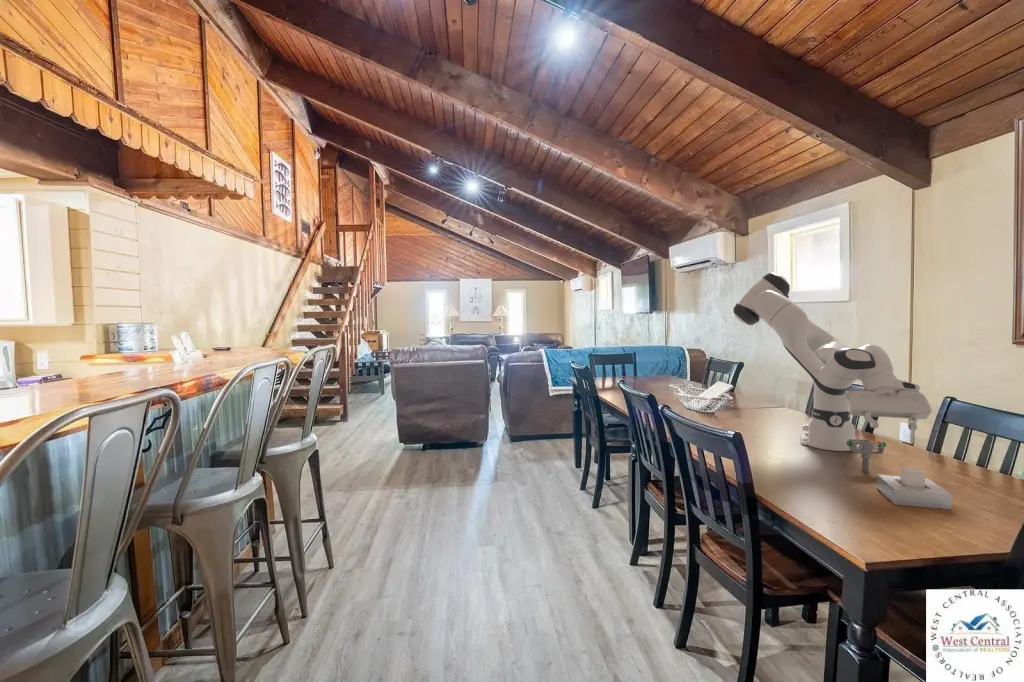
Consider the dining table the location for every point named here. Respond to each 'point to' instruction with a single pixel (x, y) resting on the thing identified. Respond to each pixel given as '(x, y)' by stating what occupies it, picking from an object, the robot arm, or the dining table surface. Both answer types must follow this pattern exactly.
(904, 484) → the plug
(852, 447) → the mechanical component
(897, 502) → the grey square socket base
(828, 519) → the dining table surface
